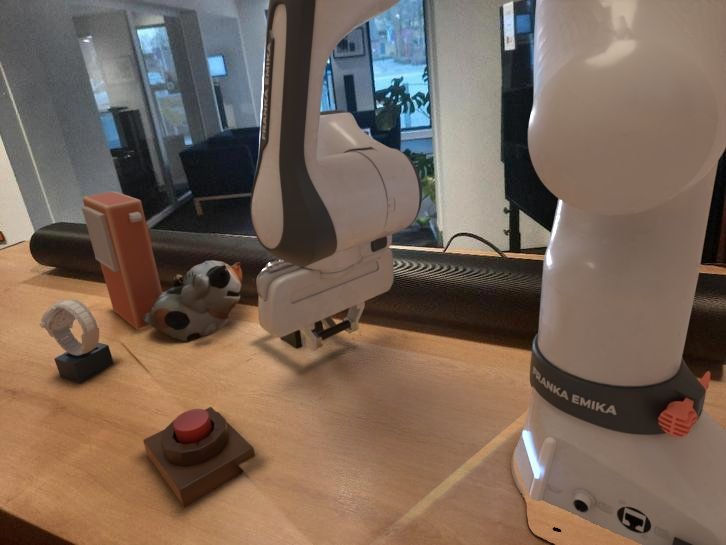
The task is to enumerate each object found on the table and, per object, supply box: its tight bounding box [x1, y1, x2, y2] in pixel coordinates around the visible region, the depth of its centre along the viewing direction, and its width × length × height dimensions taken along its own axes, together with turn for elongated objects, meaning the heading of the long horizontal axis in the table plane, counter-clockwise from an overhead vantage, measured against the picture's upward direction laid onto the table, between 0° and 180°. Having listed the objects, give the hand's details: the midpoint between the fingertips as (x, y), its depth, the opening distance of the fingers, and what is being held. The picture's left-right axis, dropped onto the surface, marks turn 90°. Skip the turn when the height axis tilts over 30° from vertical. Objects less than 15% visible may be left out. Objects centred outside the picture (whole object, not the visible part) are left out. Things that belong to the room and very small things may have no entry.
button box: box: [142, 406, 256, 508], centre depth 53 cm, size 10×8×4 cm
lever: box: [317, 316, 351, 342], centre depth 69 cm, size 12×5×2 cm
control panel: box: [81, 190, 163, 330], centre depth 85 cm, size 21×7×15 cm
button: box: [173, 408, 212, 444], centre depth 52 cm, size 4×4×2 cm
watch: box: [39, 298, 115, 384], centre depth 70 cm, size 6×8×11 cm
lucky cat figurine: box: [143, 260, 243, 342], centre depth 81 cm, size 15×12×14 cm
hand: (333, 338), depth 68 cm, fingers closed on lever, 5 cm apart
